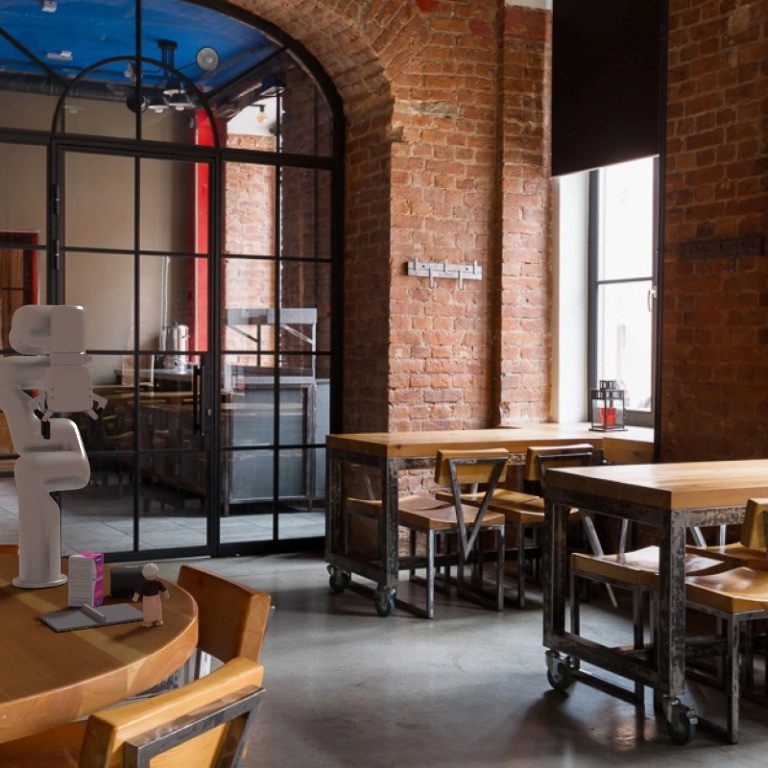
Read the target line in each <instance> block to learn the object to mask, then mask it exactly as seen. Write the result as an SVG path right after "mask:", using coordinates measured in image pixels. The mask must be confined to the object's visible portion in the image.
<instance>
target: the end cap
mask: <svg viewBox="0 0 768 768" xmlns="http://www.w3.org/2000/svg"><path fill="white" fill-rule="evenodd" d="M144 566H145V565H143V566H142V565H139V566H137V567H136V566H134V567H132V566H131V567H123V566H121V567H117V566H116V567H113V568H110V569H109V595H110V597H111V598H112V597H120V598H130V597H129V596H134V594H135V591H136V589H137V588H138V586H139V585H140V584H142V583H144V582H147V581H148V580H146V579H145V577H144V576H143V573H142V570H143V567H144ZM155 580H157V577H156V578H155ZM143 595H144V594H142V595H140V596H139V597H143Z"/></svg>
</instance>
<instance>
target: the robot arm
mask: <svg viewBox="0 0 768 768" xmlns="http://www.w3.org/2000/svg"><path fill="white" fill-rule="evenodd" d="M86 331H87V330H86V310H85V308H84V307H83V306H81V305H78V304H77V305H75V304H74V305H73V304H57V305H56V304H55V305H54V304H26V305H22V306H20V307H18V308H17V309H16V310H15V311H14V313H13V316H12V320H11V329H10V332H9V335H8V340H9V345H10V346H11V348H12V349H13V350H14V351H15V352H17V353H19V354H21V355H14V356H13V355H12V356H10V355H9V356H3V357H1V358H0V409H1V410H2V412H3V414H4V415H5V419H6V423H7V426H8V431H9V434H10V438H11V443H12V445H13V448H14V450H15V452H16V453H17V455H19V456H20V457H18V458H17V459H16V461H15V463H14V466H13V467H14V468H13V473H14V480H15V486H16V491H17V492H16V493H17V494H16V495H17V503H18V505H17V507H18V566H19V567H18V571H19V573H18V574H19V575H18V576H16V577H14V578H13V579H12V586H14V587H16V588H22V589H40V588H42V589H45V588H52V587H57V586H60V585H64V584H66V583H68V576H67V575H66V574H64V573H62V572H61V569H62V567H61V565H62V564H61V510H60V507H59V504H58V503H57V502H56V501H55V500H54V498H53V497H51V495H50V493H52V492H59V491H72V490H79V489H83V488H84V487H86V486H87V485H88V483H89V481H90V479H91V467H90V462H89V459H88V456H87V452H86V449H85V445H84V442H83V438H82V436H81V433H80V429H79V427H78V426H77V424H76V423H75V422H74V421H73V420H71V419H69V418H66V417H65V418H61V417H59V418H55V417H54V418H51V416H52V415H53V414H54V413H76V412H77V413H80V412H83V413H84V414H85V415H86V416H87V419H86V421H85V423H86V425H85V427H86V428H85V429H86V437H87V438H91V439H93V438H94V437H95V434H96V433H97V429H96V427H97V425H96V424H97V421H96V420H97V419H98V418H99V417H100V415H102V414H103V412H104V410H105V408H106V407H107V403H108V399H106V398H104V397H102V396H100V395H98V394H97V393H95V392H93V385H92V383H93V382H92V378H91V372H90V368H89V367H88V366H87V363H89V362H90V363H91V362H92V361H93V356H92V355H88V354H87V352H86V351H87V350H86V346H87V345H86V344H87V343H86V342H87V341H86V339H87V337H86ZM23 390H43V392H42V394H41V393H40V394H39V395H38V396H36V397H34V398H33V397H32V396H30V395H29V393H28V394H27V393H26V392H24V391H23ZM94 401H96V402H98V405H97V407H96V408H95V409H94V410H93V405H94ZM41 403H42V408H43V411H42V409H41V406H40V405H39V404H41Z"/></svg>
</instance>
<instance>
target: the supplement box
mask: <svg viewBox="0 0 768 768" xmlns="http://www.w3.org/2000/svg"><path fill="white" fill-rule="evenodd" d="M104 555H105V554H104V553H99V552H98V553H97V552H84V551H81V552H78V553H76V554H72V555H70V556H68V580H67V583H68V587H67V589H68V590H67V592H68V593H67V594H68V598H67V609H68V608H82V604H87V605H89V606H91V607H92V608H94V607H96V606H97V607H99V606H101V605H100V604H102V603H103V604H104V565H105V563H104V561H105V560H104V558H105V556H104ZM103 604H102V605H103ZM98 605H99V606H98Z"/></svg>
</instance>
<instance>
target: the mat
mask: <svg viewBox="0 0 768 768" xmlns="http://www.w3.org/2000/svg"><path fill="white" fill-rule="evenodd" d="M38 619H40V620H41V621H42V620H43V622H44V623H45V622H46V623H47V624H46V623H45V624H46V625H47V626H49V627H50V628H52V630H54V629H55V630H54V631H55V632H57V631H58V632H57V633H61V632H60V631H65V632H67V631H66V630H71V629H78V628H85V627H92V626H100V625H107V626H110V625H109V624H114V625H117V624H116V623H121V624H123V623H122V622H128V623H131V622H130V621H134V622H136V621H135V620H141V621H144V619H143V611H141V610H139V609H137V608H135V607H134V606H132V605H131V604H129V603H125V602H124V603H119V604H118V603H117V604H112V605H110V604H109V605H102V606H101V605H100V606H97V607H94V608H92V607H91V606H89V605H87V604H82V609H70V610H65V611H59V612H58V611H57V612H52V613H51V612H50V613H44V614H43V613H42V614H38ZM100 627H101V626H100Z"/></svg>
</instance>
